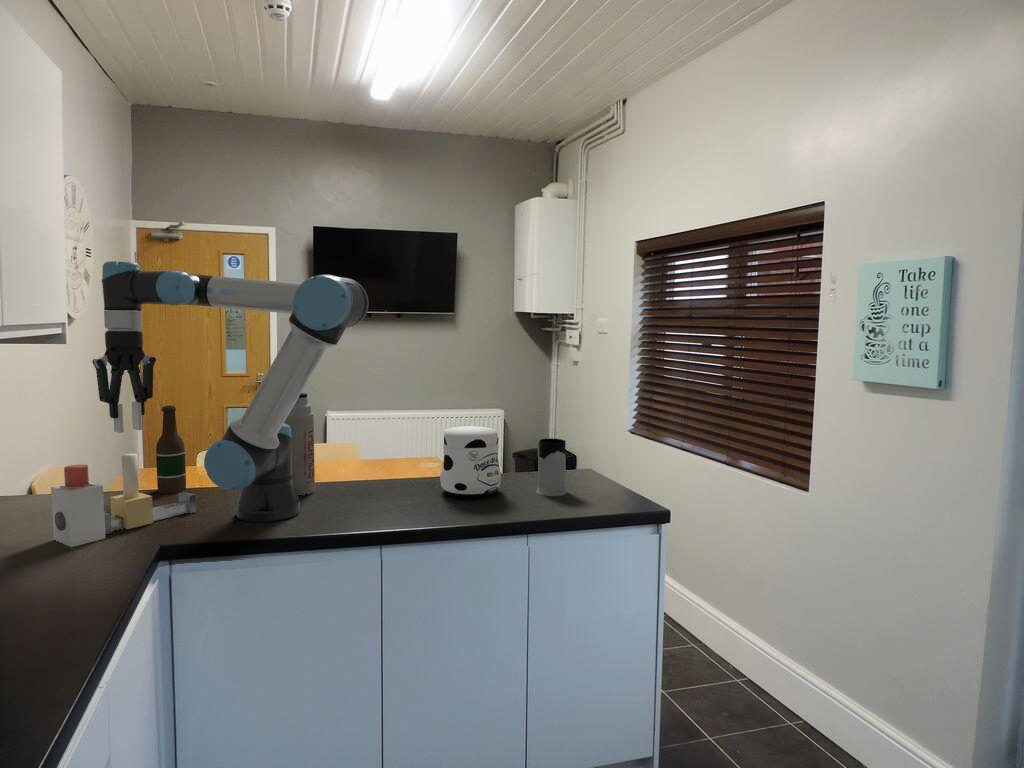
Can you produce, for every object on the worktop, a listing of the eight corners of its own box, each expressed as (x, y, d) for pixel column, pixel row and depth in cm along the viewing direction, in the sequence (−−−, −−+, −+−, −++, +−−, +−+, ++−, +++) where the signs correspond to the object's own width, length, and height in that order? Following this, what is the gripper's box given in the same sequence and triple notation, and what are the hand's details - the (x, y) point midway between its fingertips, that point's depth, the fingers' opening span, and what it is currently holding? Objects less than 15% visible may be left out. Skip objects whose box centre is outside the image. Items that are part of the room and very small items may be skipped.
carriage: (153, 522, 162) (150, 454, 160) (127, 529, 157) (124, 459, 155) (137, 517, 165) (134, 450, 164) (111, 523, 160) (108, 455, 159)
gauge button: (92, 484, 150) (91, 466, 149) (70, 488, 146) (69, 470, 146) (82, 481, 152) (81, 463, 152) (61, 485, 149) (60, 467, 148)
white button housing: (105, 538, 151) (103, 485, 150) (69, 547, 145) (66, 492, 144) (87, 531, 156) (85, 480, 154) (51, 540, 149) (48, 486, 148)
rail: (196, 512, 172) (195, 494, 171) (104, 535, 153) (103, 515, 153) (184, 508, 174) (184, 491, 174) (93, 530, 156) (92, 511, 156)
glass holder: (543, 497, 190) (544, 444, 189) (524, 485, 203) (525, 435, 202) (571, 494, 193) (573, 442, 192) (551, 482, 207) (552, 434, 205)
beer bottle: (163, 487, 195) (160, 404, 193) (191, 486, 196) (188, 404, 193) (151, 494, 187) (148, 408, 185) (180, 494, 188) (177, 408, 186)
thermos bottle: (320, 491, 193) (319, 393, 190) (298, 497, 186) (296, 396, 184) (301, 487, 197) (299, 391, 194) (279, 493, 191) (277, 393, 188)
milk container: (499, 501, 185) (500, 436, 183) (436, 500, 185) (436, 435, 184) (501, 485, 202) (502, 426, 201) (443, 484, 203) (444, 425, 201)
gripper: (150, 329, 165) (154, 424, 168) (76, 329, 151) (82, 433, 154) (168, 329, 161) (171, 427, 163) (93, 330, 147) (98, 437, 150)
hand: (128, 430), depth 159 cm, fingers open, 3 cm apart
